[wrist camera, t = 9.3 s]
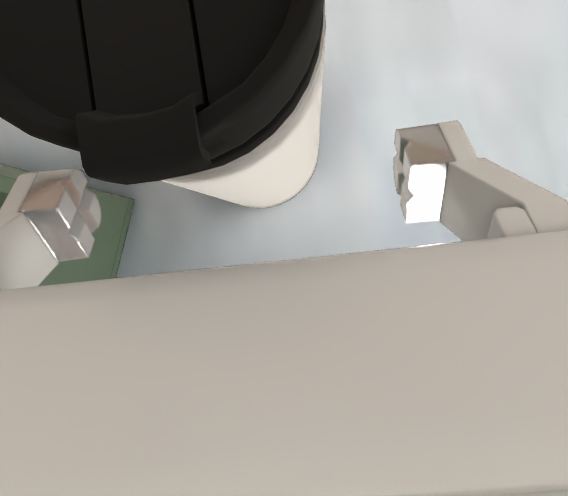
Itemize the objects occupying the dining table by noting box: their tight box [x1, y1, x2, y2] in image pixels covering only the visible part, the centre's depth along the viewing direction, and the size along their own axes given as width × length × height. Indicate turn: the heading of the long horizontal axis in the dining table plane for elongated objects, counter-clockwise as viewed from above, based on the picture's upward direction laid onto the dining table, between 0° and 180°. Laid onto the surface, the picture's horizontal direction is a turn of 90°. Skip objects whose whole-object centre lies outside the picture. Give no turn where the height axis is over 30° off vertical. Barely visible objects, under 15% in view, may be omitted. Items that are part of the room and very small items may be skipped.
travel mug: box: [0, 0, 326, 208], centre depth 17 cm, size 6×7×20 cm
